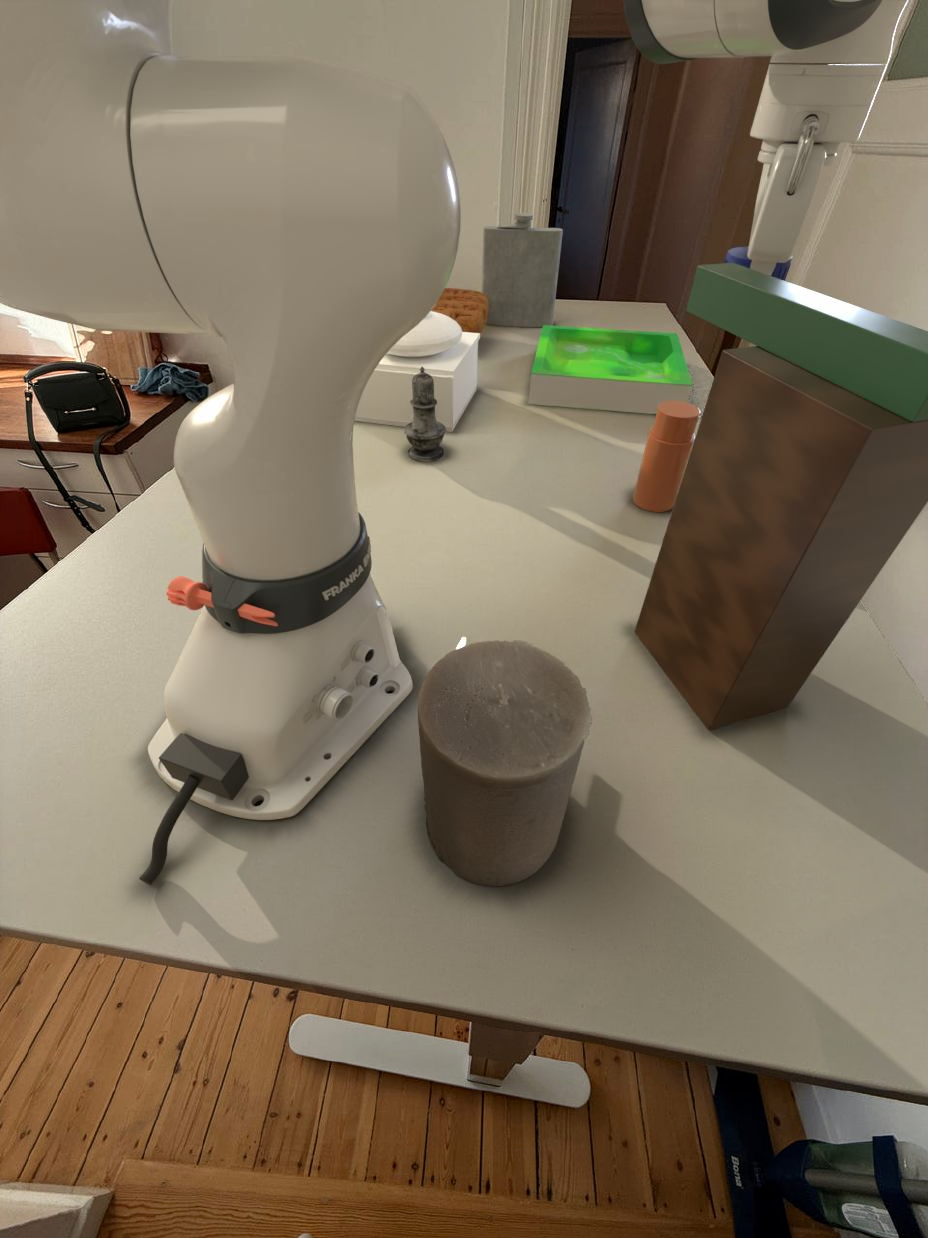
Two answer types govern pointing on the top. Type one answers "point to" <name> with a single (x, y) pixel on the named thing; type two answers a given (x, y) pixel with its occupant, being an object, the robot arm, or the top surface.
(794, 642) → the stand
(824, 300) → the rod
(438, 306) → the clay tablet
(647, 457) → the jar
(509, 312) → the hip flask
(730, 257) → the jar lid
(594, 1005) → the top surface
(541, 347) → the tray
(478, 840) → the pillar candle
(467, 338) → the butter dish
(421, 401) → the salt shaker
